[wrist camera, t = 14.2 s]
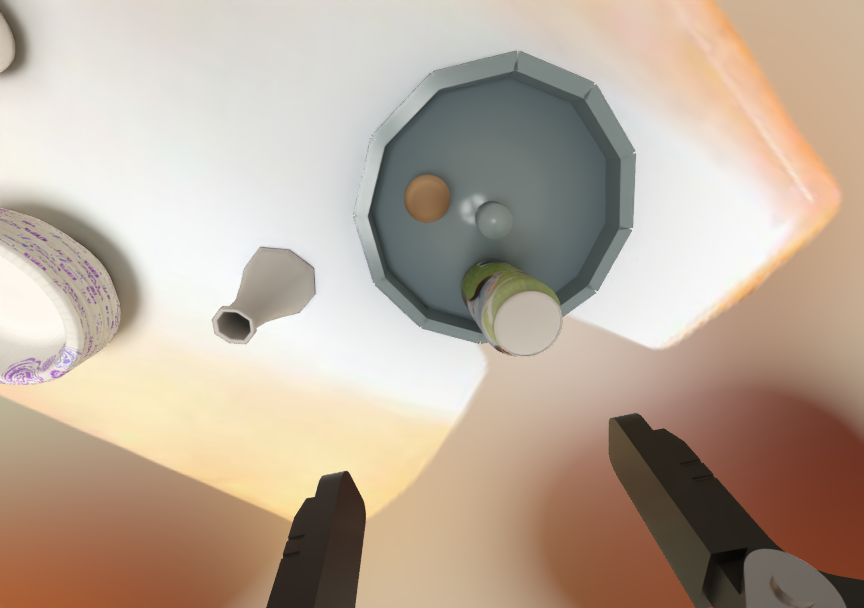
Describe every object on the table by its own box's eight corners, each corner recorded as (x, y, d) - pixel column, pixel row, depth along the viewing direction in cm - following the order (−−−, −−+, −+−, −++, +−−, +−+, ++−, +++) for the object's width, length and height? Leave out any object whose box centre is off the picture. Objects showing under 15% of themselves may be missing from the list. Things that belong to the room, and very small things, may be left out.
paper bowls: (107, 366, 39) (36, 416, 32) (-47, 280, 34) (-171, 316, 27) (172, 276, 35) (107, 310, 27) (7, 162, 30) (-124, 168, 23)
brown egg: (400, 178, 30) (397, 182, 27) (444, 168, 30) (447, 171, 27) (410, 222, 32) (409, 231, 28) (452, 213, 32) (456, 221, 28)
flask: (325, 263, 35) (292, 304, 26) (306, 321, 37) (269, 377, 28) (253, 234, 33) (190, 267, 24) (238, 297, 36) (176, 348, 27)
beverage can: (455, 308, 36) (471, 377, 25) (467, 240, 33) (491, 285, 22) (513, 314, 37) (552, 385, 26) (530, 247, 34) (583, 296, 23)
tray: (328, 105, 29) (317, 99, 26) (615, 34, 27) (641, 19, 24) (399, 342, 39) (397, 360, 36) (611, 300, 37) (629, 314, 34)
